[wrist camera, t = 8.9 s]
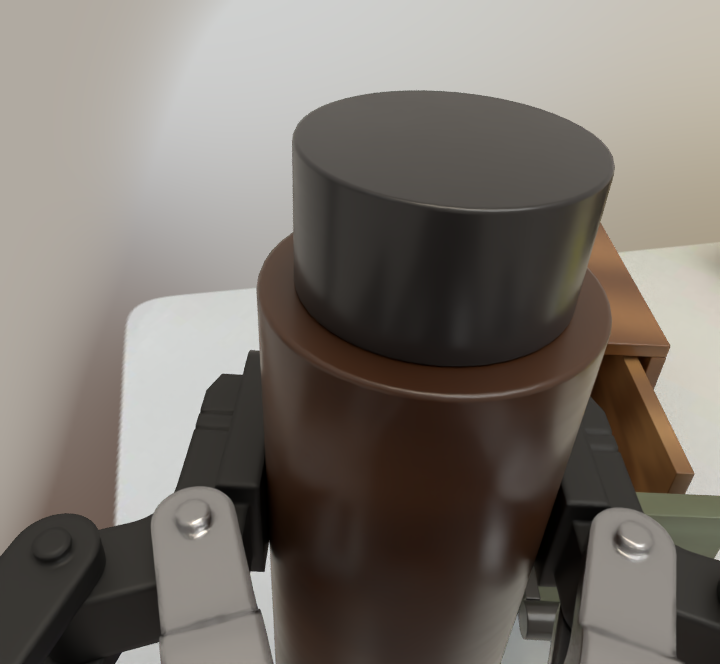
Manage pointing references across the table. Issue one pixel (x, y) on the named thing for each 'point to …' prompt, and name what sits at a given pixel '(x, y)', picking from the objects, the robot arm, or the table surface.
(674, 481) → the drawer
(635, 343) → the cabinet
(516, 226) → the pepper mill
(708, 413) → the table surface
